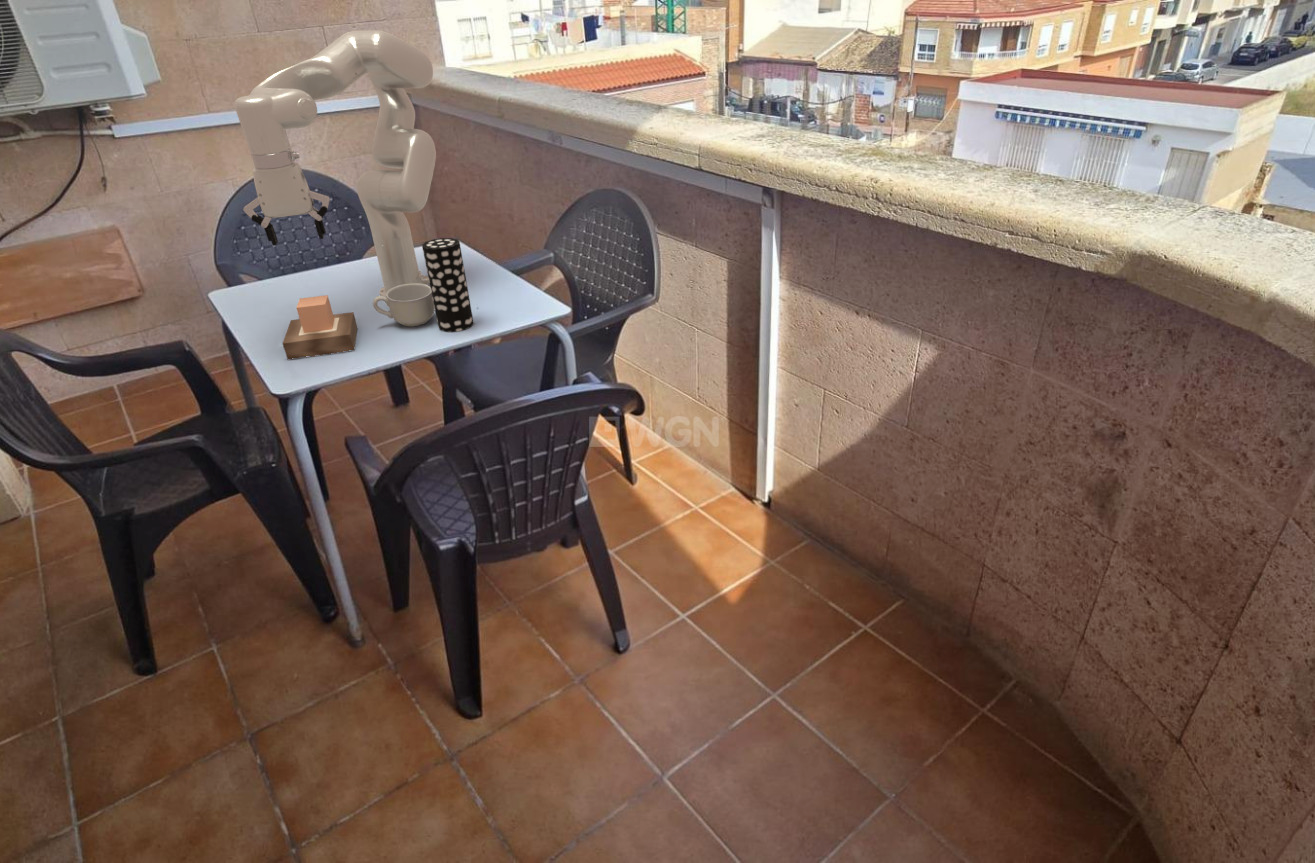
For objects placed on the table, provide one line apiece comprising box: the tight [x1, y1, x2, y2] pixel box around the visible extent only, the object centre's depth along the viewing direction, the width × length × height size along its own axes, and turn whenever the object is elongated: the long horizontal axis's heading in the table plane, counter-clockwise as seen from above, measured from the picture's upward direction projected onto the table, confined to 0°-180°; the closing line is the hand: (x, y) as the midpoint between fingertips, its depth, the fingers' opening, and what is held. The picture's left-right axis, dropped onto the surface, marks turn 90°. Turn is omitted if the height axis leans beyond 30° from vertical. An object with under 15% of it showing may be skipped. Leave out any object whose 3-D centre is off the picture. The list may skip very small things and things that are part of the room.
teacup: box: [372, 283, 435, 327], centre depth 176 cm, size 14×11×8 cm
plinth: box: [282, 311, 358, 360], centre depth 168 cm, size 14×14×4 cm
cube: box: [296, 294, 335, 333], centre depth 165 cm, size 6×6×6 cm
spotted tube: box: [421, 237, 474, 333], centre depth 171 cm, size 8×8×20 cm
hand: (298, 240), depth 161 cm, fingers open, 9 cm apart
